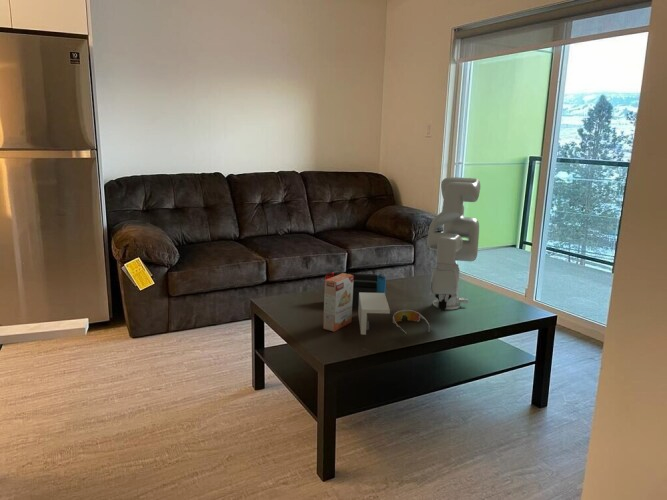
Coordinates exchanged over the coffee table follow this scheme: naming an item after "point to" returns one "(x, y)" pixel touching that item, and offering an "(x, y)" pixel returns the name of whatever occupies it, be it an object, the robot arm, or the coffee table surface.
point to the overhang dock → (371, 308)
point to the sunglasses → (407, 317)
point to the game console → (364, 284)
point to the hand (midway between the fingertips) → (442, 309)
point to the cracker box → (338, 301)
